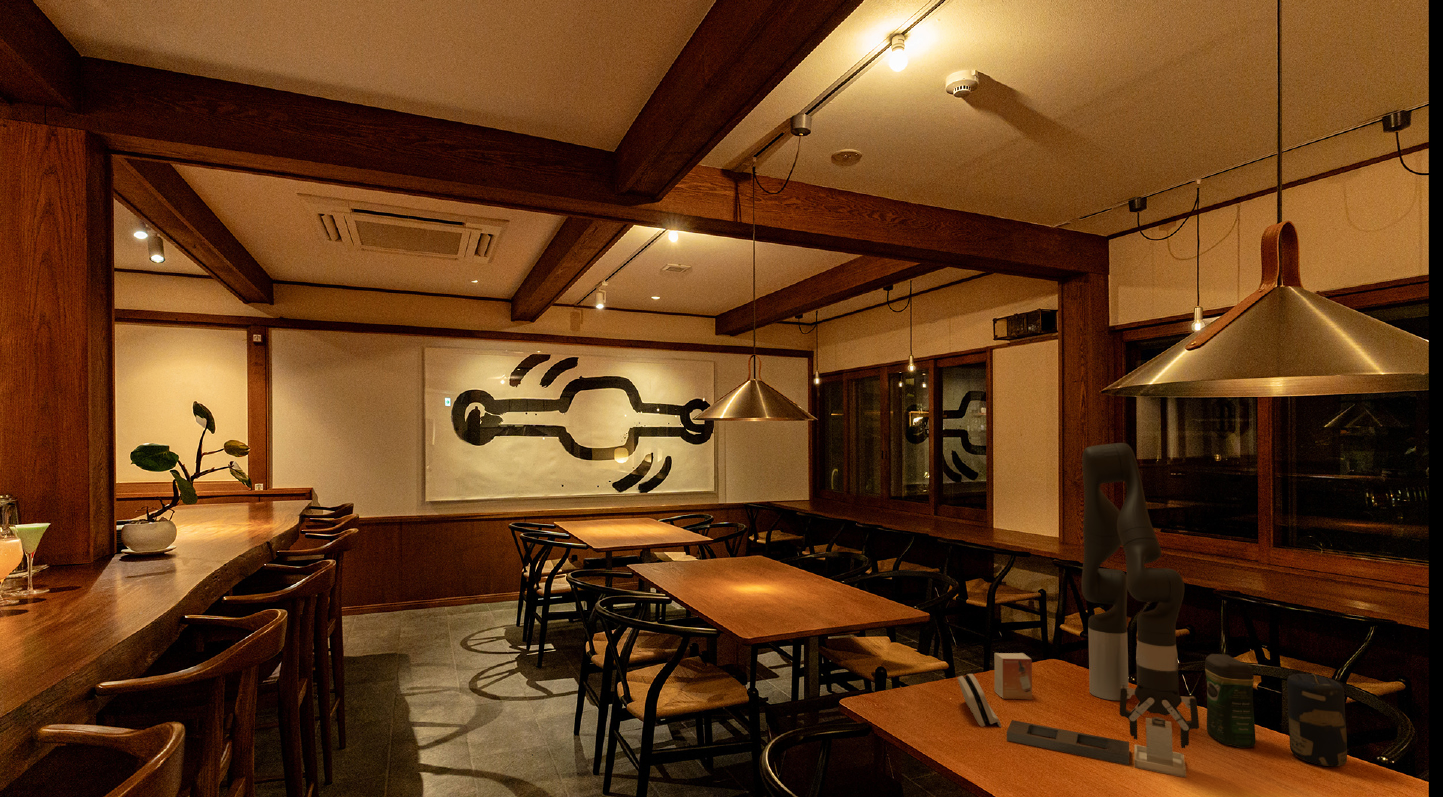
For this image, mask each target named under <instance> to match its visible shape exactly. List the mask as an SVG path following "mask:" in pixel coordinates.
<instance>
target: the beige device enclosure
mask: <svg viewBox="0 0 1443 797" xmlns="http://www.w3.org/2000/svg"><path fill="white" fill-rule="evenodd" d="M957 681H958V685H959V688H960V690H961V693H962V696H963V698H964V702H965V704H966V705H967V708H970V709H969V710H970V712H971V714H972V713H973V714H972V716H973V717H974V719H975V720H976V722H977V725H980V726H979V727H986V725H987V724H990V725H993V724H995V723H996V724H997V726H998V727H999V728H1002V727H1003V726H1002V724H1001V721H1000V719H999V717H998V716H997V715H996V713H995V712H994V710H993V708H992V707H991V705H990V704H989V703H988V700H987V698H986V696H985V692H984V690H983V688H982V687H981V685H980V683H979V681H978V679H977V678H976V676H975V675H974V674H973V673H966V674H965V675H960V676H958V677H957Z"/></svg>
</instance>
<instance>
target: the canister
mask: <svg viewBox="0 0 1443 797" xmlns="http://www.w3.org/2000/svg"><path fill="white" fill-rule="evenodd" d="M1286 681H1287V682H1286V685H1287V686H1286V687H1287V707H1288V708H1287V709H1288V733H1289V735H1288V736H1289V748H1290V752H1291V753H1292V754H1293V755H1294V756H1295V757H1296V758H1299V759H1300V760H1303V761H1305V762H1307V763H1312V764H1315V765H1319V766H1320V765H1321V766H1325V767H1326V766H1327V767H1340V766H1343V765H1344V766H1345V765H1346V763H1347V762H1348V747H1347V746H1348V743H1347V742H1348V738H1347V736H1348V734H1347V725H1346V724H1347V723H1346V721H1347V720H1346V706H1345V689H1344V686H1343V684H1341V683H1340V682H1339V681H1337V680H1334V679H1332V678H1328V677H1325V676H1321V675H1317V674H1315V673H1311V674H1309V673H1293V674H1290V675H1288V677H1287V679H1286Z"/></svg>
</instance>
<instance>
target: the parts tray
mask: <svg viewBox="0 0 1443 797" xmlns="http://www.w3.org/2000/svg"><path fill="white" fill-rule="evenodd" d="M1172 752H1173V767H1172V766H1167V765H1162V764H1157V763H1152V762H1147V746H1144V745H1139V744H1134V768H1137V769H1141V770H1146V771H1149V772H1150V771H1151V772H1156V773H1161V774H1165V775H1171V776H1174V777H1175V776H1176V777H1182V778H1185V779H1187V767H1186V762H1185V756H1184V753H1182V752H1176V751H1172Z"/></svg>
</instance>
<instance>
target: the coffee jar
mask: <svg viewBox="0 0 1443 797" xmlns="http://www.w3.org/2000/svg"><path fill="white" fill-rule="evenodd" d="M1204 671H1205V676H1206V677H1205V678H1206V698H1207V699H1206V731H1207V734H1209V736H1210V737H1212V738H1214V740H1216V741H1218V742H1220V743H1221V744H1223V745H1228V746H1232V747H1236V748H1239V749H1240V748H1241V749H1243V748H1244V749H1246V748H1251V747H1255V745H1256V744H1257V740H1256V739H1257V738H1256V726H1255V714H1254V713H1255V712H1254V696H1253V691H1254V690H1253V689H1254V684H1255V683H1254V682H1255V678H1254V672H1253V671H1254V669H1253V667H1252V666H1251V665H1249V664H1248V663H1245V662H1243V661H1241V660H1239V659H1236V658H1235V657H1232V656H1230V655H1229V654H1224V653H1222V654H1221V653H1210V654H1209V655H1207V656H1206V658H1205V664H1204Z"/></svg>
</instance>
